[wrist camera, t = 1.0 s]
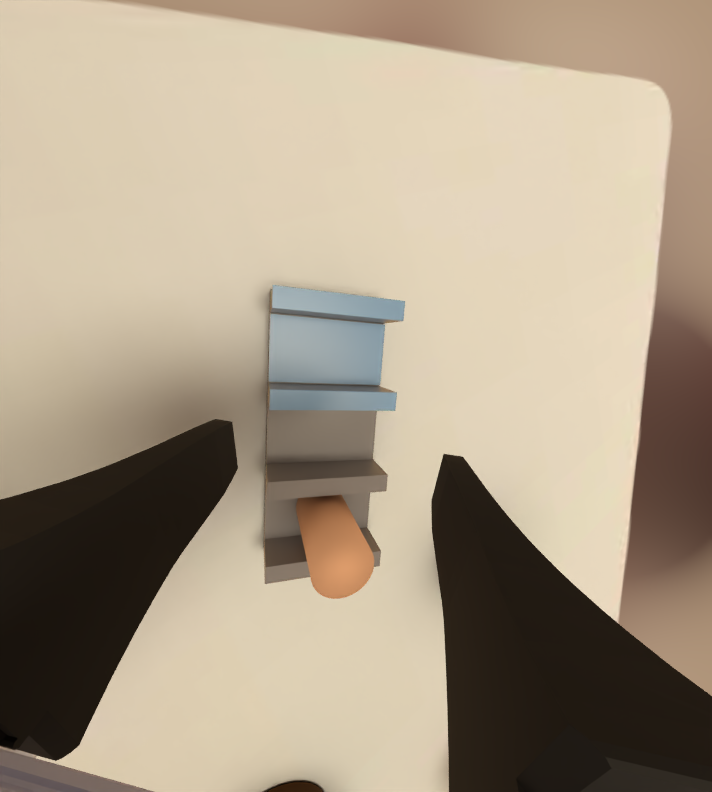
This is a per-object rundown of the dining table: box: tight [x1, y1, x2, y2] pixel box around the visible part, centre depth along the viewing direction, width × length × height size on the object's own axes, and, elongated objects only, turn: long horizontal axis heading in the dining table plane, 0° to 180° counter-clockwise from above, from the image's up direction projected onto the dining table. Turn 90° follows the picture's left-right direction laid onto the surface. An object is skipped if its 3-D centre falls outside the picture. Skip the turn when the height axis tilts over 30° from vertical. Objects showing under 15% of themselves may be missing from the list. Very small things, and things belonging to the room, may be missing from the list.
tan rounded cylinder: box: [296, 495, 374, 599], centre depth 20 cm, size 4×4×7 cm
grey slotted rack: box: [264, 285, 405, 584], centre depth 22 cm, size 19×8×4 cm, turn 176°
